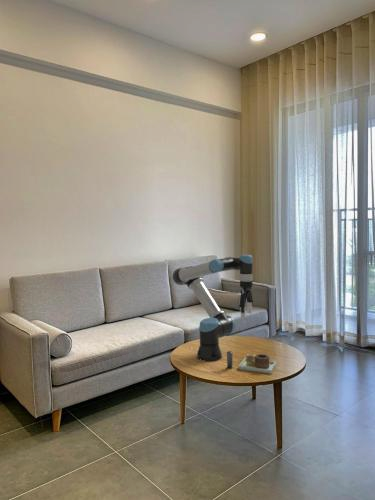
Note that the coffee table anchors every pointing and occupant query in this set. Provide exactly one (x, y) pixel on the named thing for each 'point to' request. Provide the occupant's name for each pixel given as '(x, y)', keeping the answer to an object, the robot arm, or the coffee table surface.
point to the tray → (251, 368)
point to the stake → (229, 360)
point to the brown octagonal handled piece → (257, 360)
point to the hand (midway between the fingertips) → (246, 315)
